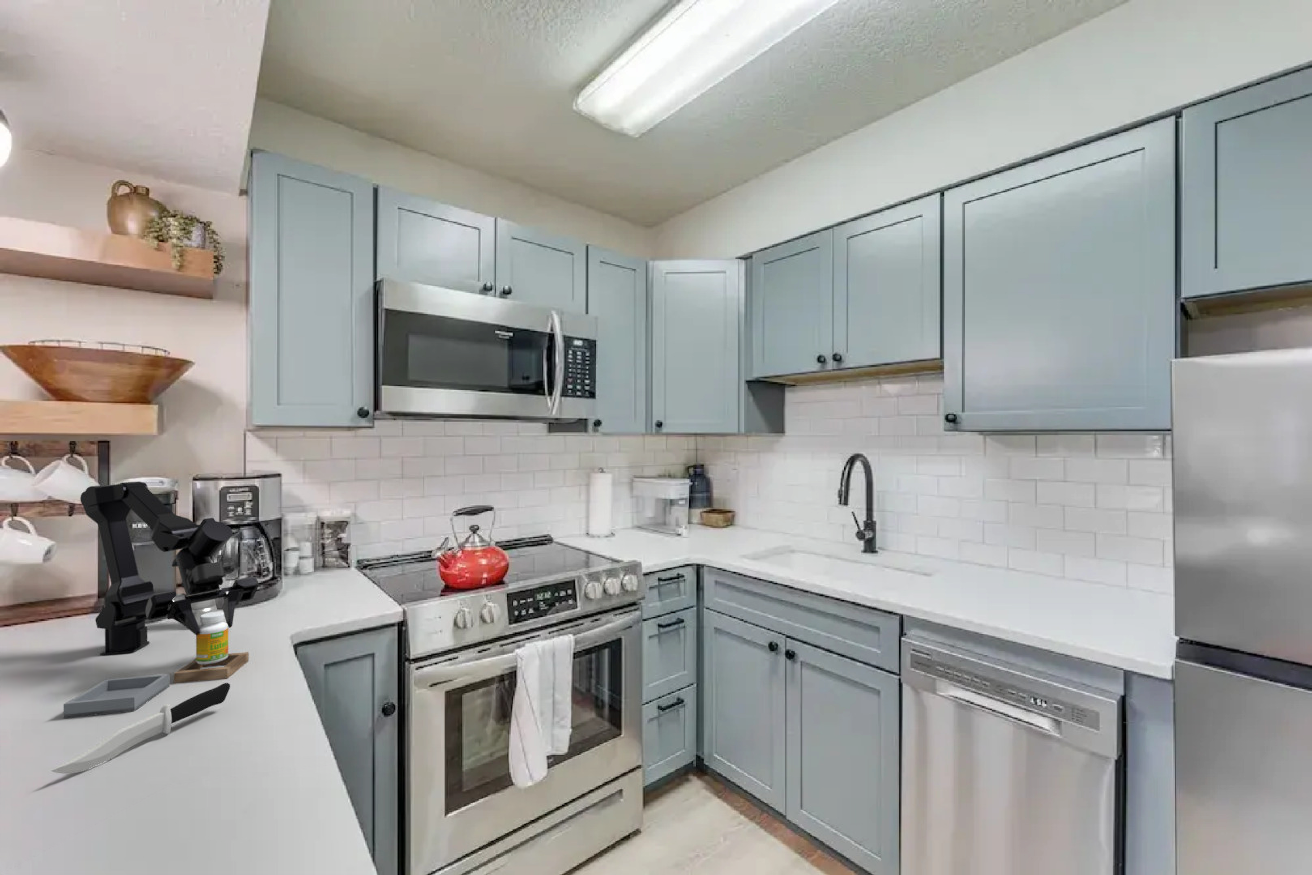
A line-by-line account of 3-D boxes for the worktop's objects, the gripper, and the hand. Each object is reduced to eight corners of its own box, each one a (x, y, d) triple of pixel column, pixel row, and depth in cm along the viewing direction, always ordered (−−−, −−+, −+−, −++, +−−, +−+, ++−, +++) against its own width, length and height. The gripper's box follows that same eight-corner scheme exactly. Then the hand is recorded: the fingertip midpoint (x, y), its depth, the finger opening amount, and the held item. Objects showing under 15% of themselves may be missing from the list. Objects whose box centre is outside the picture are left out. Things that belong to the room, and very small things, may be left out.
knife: (55, 787, 81) (55, 752, 81) (47, 785, 81) (47, 750, 81) (232, 707, 105) (232, 680, 105) (225, 706, 105) (225, 679, 105)
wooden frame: (174, 683, 115) (174, 673, 115) (199, 665, 124) (199, 656, 124) (227, 678, 117) (227, 668, 117) (248, 661, 127) (248, 652, 127)
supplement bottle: (210, 666, 118) (210, 618, 118) (189, 663, 119) (189, 617, 119) (234, 656, 123) (234, 611, 123) (214, 654, 124) (214, 609, 124)
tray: (63, 718, 101) (63, 703, 101) (106, 692, 111) (105, 679, 111) (134, 711, 103) (134, 697, 103) (169, 686, 114) (169, 673, 114)
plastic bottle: (223, 622, 154) (223, 548, 154) (196, 630, 147) (195, 553, 147) (207, 620, 156) (206, 546, 156) (179, 627, 149) (178, 551, 149)
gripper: (149, 554, 116) (166, 619, 109) (255, 541, 131) (276, 597, 124) (138, 587, 120) (154, 651, 114) (242, 570, 135) (261, 626, 129)
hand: (214, 630), depth 120 cm, fingers closed on supplement bottle, 5 cm apart
